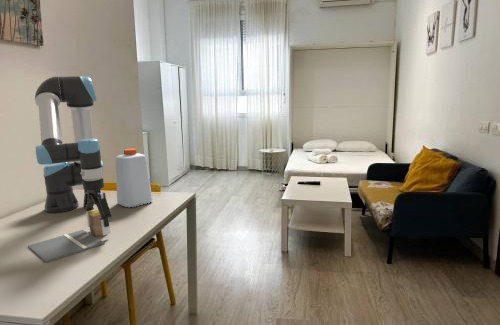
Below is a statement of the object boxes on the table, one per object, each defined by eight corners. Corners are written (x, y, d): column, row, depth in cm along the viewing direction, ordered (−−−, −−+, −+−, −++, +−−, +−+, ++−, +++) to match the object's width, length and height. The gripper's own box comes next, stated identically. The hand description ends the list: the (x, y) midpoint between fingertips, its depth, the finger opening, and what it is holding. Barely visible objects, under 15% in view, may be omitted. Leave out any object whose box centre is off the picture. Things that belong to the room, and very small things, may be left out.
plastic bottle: (141, 197, 196) (136, 146, 191) (155, 202, 186) (151, 148, 181) (114, 203, 186) (108, 150, 181) (128, 209, 176) (122, 152, 170)
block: (90, 234, 145) (87, 211, 143) (102, 231, 148) (100, 207, 147) (96, 237, 142) (93, 213, 140) (108, 234, 145) (105, 210, 143)
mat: (28, 246, 135) (28, 244, 135) (82, 231, 149) (82, 229, 149) (46, 262, 121) (45, 260, 121) (104, 243, 135) (104, 241, 135)
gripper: (70, 176, 147) (77, 225, 151) (97, 185, 129) (103, 241, 133) (89, 172, 152) (95, 220, 156) (116, 181, 135) (122, 234, 139)
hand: (99, 230), depth 145 cm, fingers open, 13 cm apart
